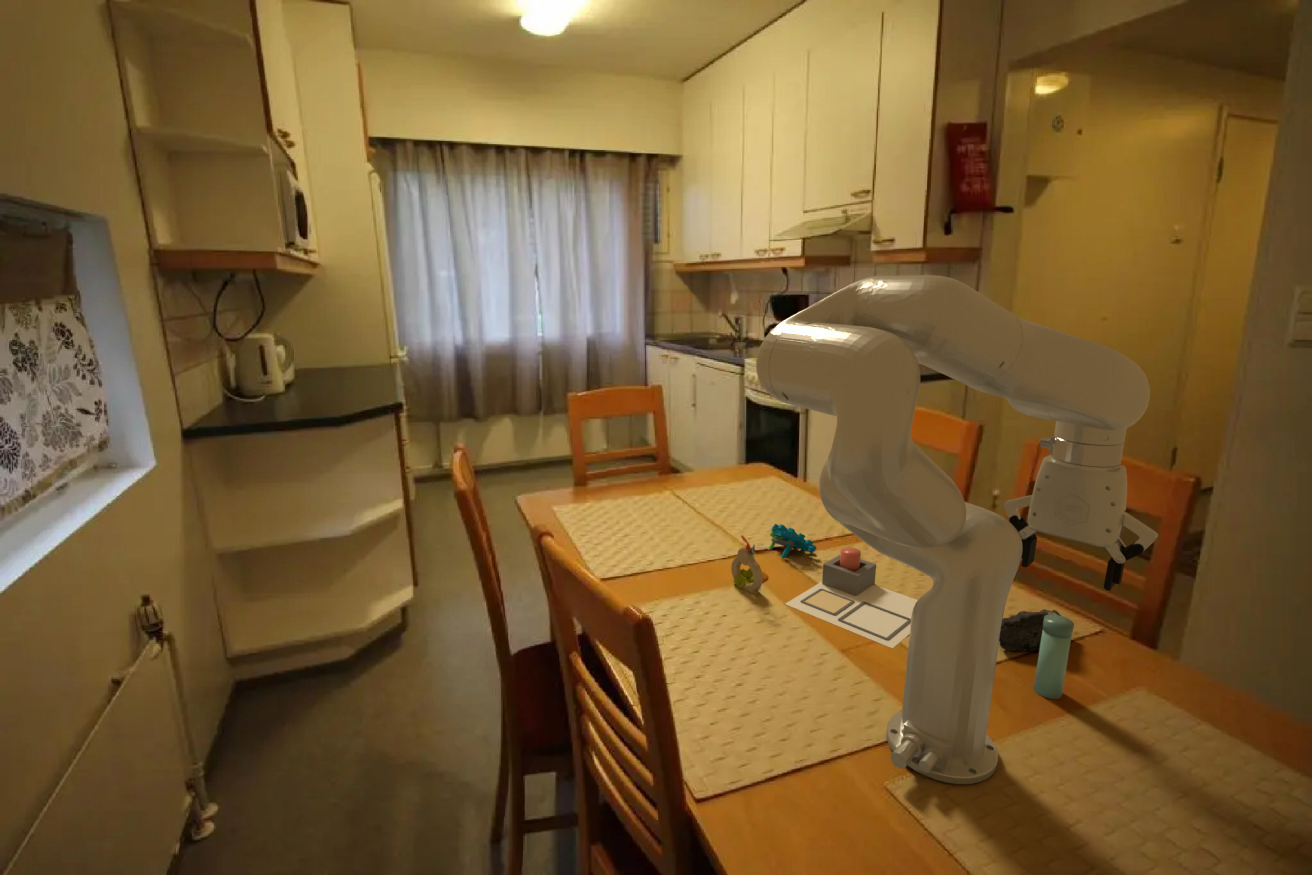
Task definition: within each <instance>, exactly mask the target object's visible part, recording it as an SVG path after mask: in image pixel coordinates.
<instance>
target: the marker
mask: <svg viewBox="0 0 1312 875" xmlns="http://www.w3.org/2000/svg"><path fill="white" fill-rule="evenodd" d="M1060 615H1061V614H1060ZM1060 615H1053V614H1050V615H1046V616H1044V621H1043V631H1042V637H1041V644H1040V650H1039V651H1038V656H1037V657H1038V658H1037V664H1036V670H1035V678H1034V684H1033V690H1034V692H1035V693H1036V694H1038V695H1040V696H1041V697H1044V698H1046V699H1051V700H1058V699H1060V698H1062V695H1063V690H1064V684H1065V677H1066V672H1067V666H1068V662H1069V661H1068V660H1069V653H1070V648H1071V642H1072V636H1073V633H1074V628H1075V623H1074V621H1072V620H1071V619H1069V618H1068V617H1065V616H1062V615H1061V616H1060Z"/></svg>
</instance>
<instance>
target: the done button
mask: <svg viewBox="0 0 1312 875" xmlns="http://www.w3.org/2000/svg"><path fill="white" fill-rule="evenodd" d="M861 554H862V552H861V550H860V549H858V548H855V547H850V546H849V547H842V548H841V549H840V554H839V555H840V567H842V568H845V569H848V570H851V571H854V572H855V571H857V570H859V569H860V559H861V557H862V556H861Z"/></svg>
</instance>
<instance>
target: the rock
mask: <svg viewBox="0 0 1312 875" xmlns="http://www.w3.org/2000/svg"><path fill="white" fill-rule="evenodd" d="M1050 614H1053V615H1060V616H1062V615H1061V614H1060V613H1059V612H1058V611H1057V610H1055V609H1052V610H1049V609H1045V608H1044V609H1041V610H1040V611H1026V610H1023V611H1019V612H1018V613H1017V614H1014V615H1011V616H1010V617H1003V618H1002V624H1001V631H1000V637H999V647H1000V648H1002V649H1003V650H1006V651H1010V652H1012V651H1013V652H1014V651H1017V650H1018V652H1020V651H1024V650H1025V649H1026V650H1025V651H1030V652H1039V650H1040V644H1041V637H1042V631H1043V621H1044V616H1046V615H1050ZM1036 650H1037V651H1036Z"/></svg>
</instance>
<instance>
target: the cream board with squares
mask: <svg viewBox="0 0 1312 875" xmlns="http://www.w3.org/2000/svg"><path fill="white" fill-rule="evenodd" d="M917 601H918V599H916V598H912V597H911V596H907V595H904V594H902V593H899V592H897V591H892V590H890V589H887V588H884V587H882V586H879V585H876V584H874V585H872V586H871V587H869V588H868V589H866V590H865V591H863V592H862V593H860V594H859V595H857V596H854V595H851V594H848V593H846V592H843V591H840V590H838V589H835V588H832V587H829V586H827V585H824V584H822V581H820V582H819V583H817V584H815V585H813V586H812V587H810V588H809V589H807V590H806V591H804V592H802V593H801V594H799V595H797V596H795V597H794V598H792V599H791V600H789V601H787V602H786V603H784V605H785V606H788V607H791V608H793V609H796V610H798V611H801V612H803V613H805V614H807V615H810V616H811V617H815V618H817V619H820V620H822V621H824V622H827V623H830V624H831V625H834V626H836V627H838V628H842V629H843V630H846V631H848V632H851V633H854V634H856V635H859V636H861V637H863V638H866V639H868V640H870V641H872V642H876V643H877V644H879V645H883V646H885V647H887V648H890V649H892V650H893V649H894V648H895V647H896V646H898V645H899V644H900V643H901V642H902V641H903V640H905V639H906V638H907V637H908V636H910V625H911V616H912V611H913V608H914V606H915V604H916V602H917Z"/></svg>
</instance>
